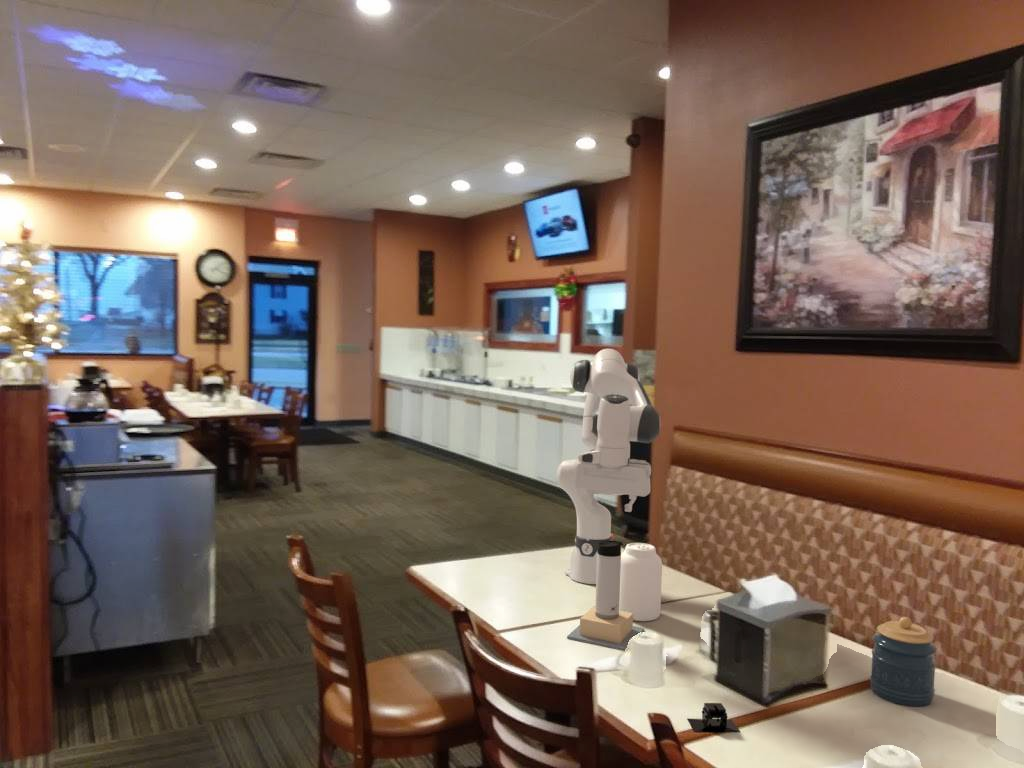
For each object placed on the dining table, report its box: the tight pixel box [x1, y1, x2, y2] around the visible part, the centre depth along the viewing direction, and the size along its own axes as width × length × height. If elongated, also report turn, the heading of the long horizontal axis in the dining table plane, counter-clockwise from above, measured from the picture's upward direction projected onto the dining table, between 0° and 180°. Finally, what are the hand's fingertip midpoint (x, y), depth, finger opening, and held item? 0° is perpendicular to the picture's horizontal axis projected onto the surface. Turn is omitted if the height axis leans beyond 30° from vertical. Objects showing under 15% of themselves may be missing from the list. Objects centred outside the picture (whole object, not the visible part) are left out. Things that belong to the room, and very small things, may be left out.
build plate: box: [686, 702, 741, 734], centre depth 156 cm, size 12×7×5 cm, turn 93°
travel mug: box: [594, 540, 624, 619], centre depth 203 cm, size 6×7×20 cm
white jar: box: [619, 542, 663, 622], centre depth 219 cm, size 12×12×20 cm
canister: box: [869, 616, 938, 707], centre depth 172 cm, size 13×13×18 cm
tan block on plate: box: [566, 605, 645, 651], centre depth 203 cm, size 16×16×5 cm
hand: (610, 509), depth 202 cm, fingers open, 8 cm apart
